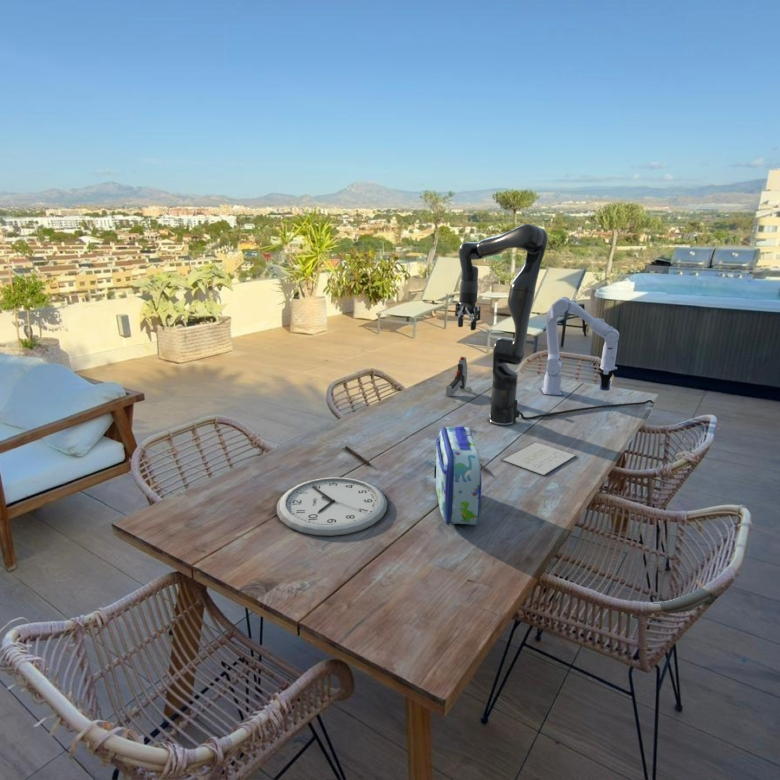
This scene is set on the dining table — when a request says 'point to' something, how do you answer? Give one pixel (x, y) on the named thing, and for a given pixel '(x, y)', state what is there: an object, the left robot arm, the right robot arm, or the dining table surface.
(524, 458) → the invitation card
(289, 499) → the wall clock
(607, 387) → the can
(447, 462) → the lunch box
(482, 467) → the fork
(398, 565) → the dining table surface
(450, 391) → the toy gun
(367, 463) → the thin brown stick
